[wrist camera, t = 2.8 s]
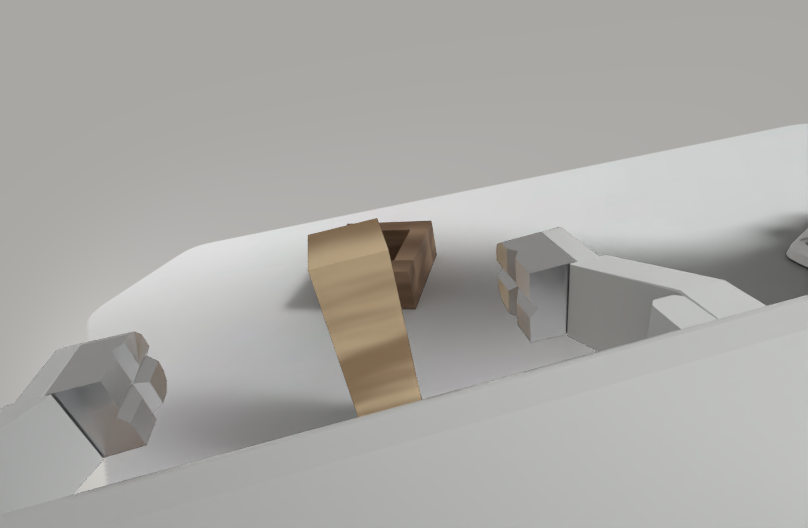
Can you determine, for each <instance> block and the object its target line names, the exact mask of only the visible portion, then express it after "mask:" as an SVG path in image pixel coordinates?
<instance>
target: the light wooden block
mask: <svg viewBox="0 0 808 528" xmlns="http://www.w3.org/2000/svg"><path fill="white" fill-rule="evenodd" d="M308 272H309V275H310V278H311V281H312V283H313V286H314V289H315V292H316V295H317V298H318V301H319V304H320V307H321V310H322V313H323V316H324V319H325V322H326V324H327V327H328V330H329V333H330V336H331V339H332V342H333V345H334V348H335V351H336V354H337V357H338V360H339V363H340V366H341V368H342V371H343V374H344V377H345V380H346V383H347V386H348V389H349V392H350V395H351V398H352V401H353V404H354V407H355V409H356V412H357V415H358V417H360V416H364V415H368V414H371V413H375V412H379V411H382V410H386V409H390V408H393V407H397V406H401V405H404V404H408V403H412V402H415V401H419V400H422V398H421V394H420V390H419V386H418V381H417V377H416V372H415V368H414V363H413V359H412V354H411V350H410V345H409V341H408V336H407V332H406V327H405V323H404V318H403V314H402V309H401V305H400V300H399V295H398V291H397V286H396V282H395V277H394V273H393V268H392V264H391V259H390V255H389V250H388V247H387V245H386V242H385V239H384V236H383V233H382V231H381V228H380V225H379V222H378V219H377V218H376V219H372V220H368V221H364V222H360V223H356V224H351V225H347V226H343V227H339V228H335V229H331V230H327V231H323V232H319V233H314V234H310V235H308Z"/></svg>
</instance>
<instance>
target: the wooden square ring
mask: <svg viewBox="0 0 808 528" xmlns="http://www.w3.org/2000/svg"><path fill="white" fill-rule="evenodd" d="M347 225H351V224H347ZM379 225H380V228H381V231H382V233H383V236H384V239H385V242H386V245H387V247H388V250H389V255H390V259H391V264H392V268H393V273H394V277H395V282H396V286H397V291H398V295H399V300H400V305H401V308H402V309H416V306H417V304H418V301H419V299H420V296H421V293H422V291H423V288H424V286H425V283H426V281H427V278H428V275H429V273H430V270H431V268H432V265H433V262H434V260H435V257H436V255H437V254H436V247H435V241H434V235H433V228H432V222H431V221H412V222H385V223H379Z"/></svg>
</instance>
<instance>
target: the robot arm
mask: <svg viewBox="0 0 808 528" xmlns="http://www.w3.org/2000/svg"><path fill="white" fill-rule="evenodd" d="M786 255H787V256H788V257H789V258H790V259H792V260H794V261H795V262H797V263H799V264H802V265H804V266H806V267H808V228H807V229H806V230H805V231H804V232H803V233H802V234H801V235H800V236H799V237H798V238H797V239H796V240H795V241H794V242H793V243H792V244H791V245H790V247H789V249H788V251H787V253H786ZM496 257H497V261H498V263H499V264H500V265H501V266H502V270H501V272H500V273H499V275H498V285H499V291H500V295H501V298H502V301H503V303H504V305H505V307H506V309H507V310H508V312H509V313H510V314H513V315H515V316H517V319H518V326H519V327H520V329H521V330H522V331H523V333H524V334H525V335H526V337H527V338H528V340H529V341H530V342H531V343H532V342H536V341H540V340H545V339H549V338H553V337H557V336H561V335H566V334H567V336H569V337H571V338H573V339H575V340H577V341H579V342H581V343H583V344H585V345H587V346H589V347H591V348H593V349H595V350H597V351H599V352H595V353H591V354H588V355H584V356H580V357H577V358H573V359H569V360H566V361H562V362H558V363H555V364H551V365H547V366H544V367H540V368H536V369H533V370H529V371H525V372H522V373H518V374H514V375H511V376H507V377H503V378H500V379H496V380H492V381H489V382H485V383H481V384H478V385H474V386H470V387H467V388H463V389H459V390H456V391H452V392H448V393H445V394H441V395H437V396H434V397H430V398H426V399H423V400H419V401H415V402H412V403H408V404H404V405H401V406H397V407H393V408H390V409H386V410H382V411H379V412H375V413H371V414H368V415H364V416H360V417H357V418H353V419H349V420H346V421H342V422H338V423H335V424H331V425H327V426H323V427H320V428H316V429H312V430H309V431H305V432H301V433H298V434H294V435H290V436H287V437H283V438H279V439H276V440H272V441H268V442H265V443H261V444H257V445H254V446H250V447H246V448H243V449H239V450H235V451H232V452H228V453H224V454H221V455H217V456H213V457H210V458H206V459H202V460H199V461H195V462H191V463H188V464H184V465H180V466H177V467H173V468H169V469H165V470H162V471H158V472H154V473H151V474H147V475H143V476H140V477H136V478H132V479H129V480H125V481H121V482H118V483H114V484H110V485H107V486H103V487H99V488H96V489H92V490H88V491H85V492H81V493H77V494H74V492H75V491H76V490H77V489H78V488H79V487H80V486H81V485H82V483H83V482H84V481H85V480H86V479H87V478H88V477H89V476H90V475H91V473H92V472H93V471H94V470H95V469H96V468H97V467H98V466H99V464H100V463H101V462H102V461H103V460H104V459H103V458H104V457H108V456H111V455H115V454H118V453H121V452H125V451H128V450H132V449H135V448H138V447H142V446H145V445H147V442H148V440H149V437H150V435H151V432H152V430H153V427H154V425H155V422H156V420H157V419H156V418H155V416H154V415H153V412H154V411H155V410H156V409H157V408H158V407H159V406H160V405H161V404H162V403H163V401H164V399H165V396H166V393H167V380H166V377H165V373H164V370H163V368H162V367H161V365H160V363H159V362H158V361H157V360H155V359H153V358H151V357H149V356H147V352H148V349H149V345H148V344H147V342H146V341H145V339H144V338H143V336H142V335H141V334H139V333H137V332H130V333H126V334H121V335H117V336H112V337H108V338H103V339H99V340H95V341H90V342H87V343H80V344H76V345H73V346H69V347H65V348H62V349H59V350H57V351H55V353H54V354H53V355H52V356H51V358H50V359H49V360H48V361H47V363H46V364H45V365H44V366H43V368H42V369H41V370H40V372H39V373H38V374H37V375H36V376H35V378H34V379H33V381H32V382H31V383H30V384H29V385H28V387H27V388H26V389H25V390H24V392H23V393H22V394H21V395H20V397H19V398H18V399H17V400H16V402H15V403H14V404H10V405H7V406H4V407H3V408H1V409H0V528H808V295H805V296H801V297H798V298H794V299H790V300H787V301H783V302H779V303H776V304H772V305H768V306H766V305H765V304H763V303H761V302H760V301H758V300H756V299H755V298H753V297H751V296H750V295H748V294H746V293H745V292H743V291H742V290H740V289H738V288H737V287H735V286H733V285H732V284H730V283H728V282H727V281H725V280H722V279H717V278H712V277H708V276H703V275H698V274H694V273H689V272H684V271H680V270H675V269H670V268H666V267H661V266H656V265H652V264H647V263H642V262H638V261H633V260H628V259H624V258H619V257H614V256H610V255H603V256H598V255H597V254H596V253H594V252H593V251H592V250H590V249H589V248H588V247H587V246H585V245H584V244H583V243H581V242H580V241H579V240H578V239H576V238H575V237H574V236H572V235H571V234H570V233H568V232H567V231H566V230H565V229H563V228H560V227H557V228H553V229H550V230H546V231H543V232H539V233H535V234H531V235H528V236H524V237H520V238H516V239H513V240H509V241H505V242H502V243H499V244H497V249H496ZM73 494H74V495H73Z"/></svg>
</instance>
